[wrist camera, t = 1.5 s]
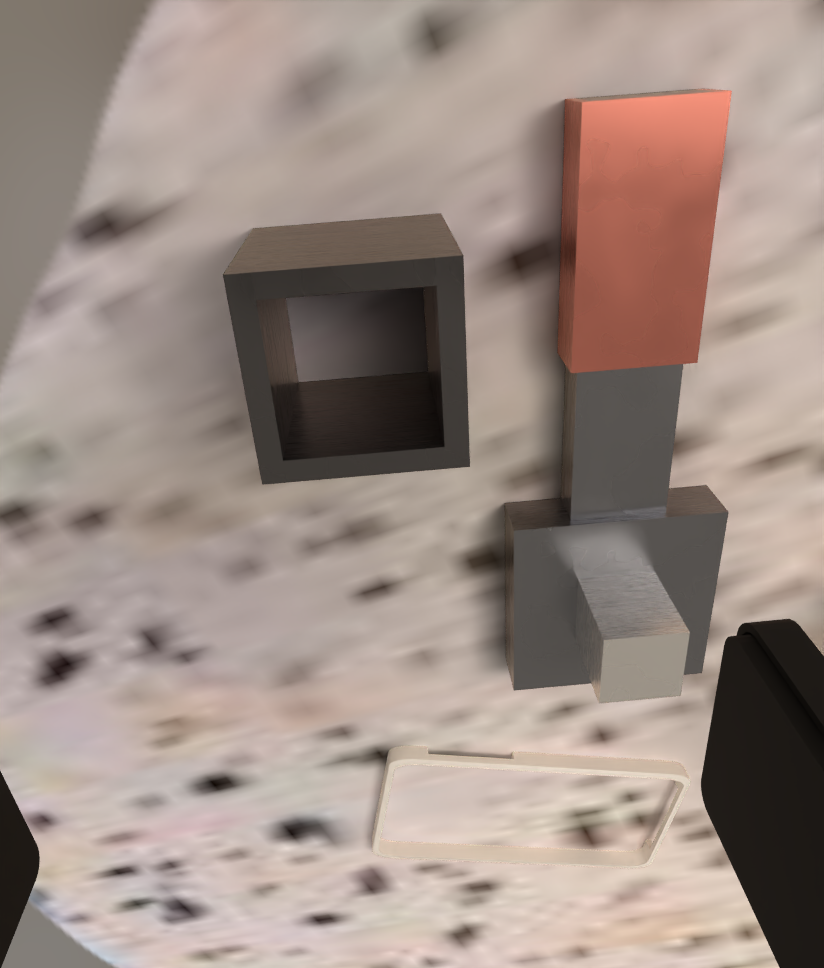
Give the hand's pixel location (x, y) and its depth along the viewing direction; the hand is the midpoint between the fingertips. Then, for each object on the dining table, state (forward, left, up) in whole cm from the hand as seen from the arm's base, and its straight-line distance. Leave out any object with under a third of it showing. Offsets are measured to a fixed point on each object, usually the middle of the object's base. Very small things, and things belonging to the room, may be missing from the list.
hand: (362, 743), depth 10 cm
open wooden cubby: (0, 0, -18) cm, 18 cm away
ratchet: (+4, +9, -18) cm, 21 cm away
